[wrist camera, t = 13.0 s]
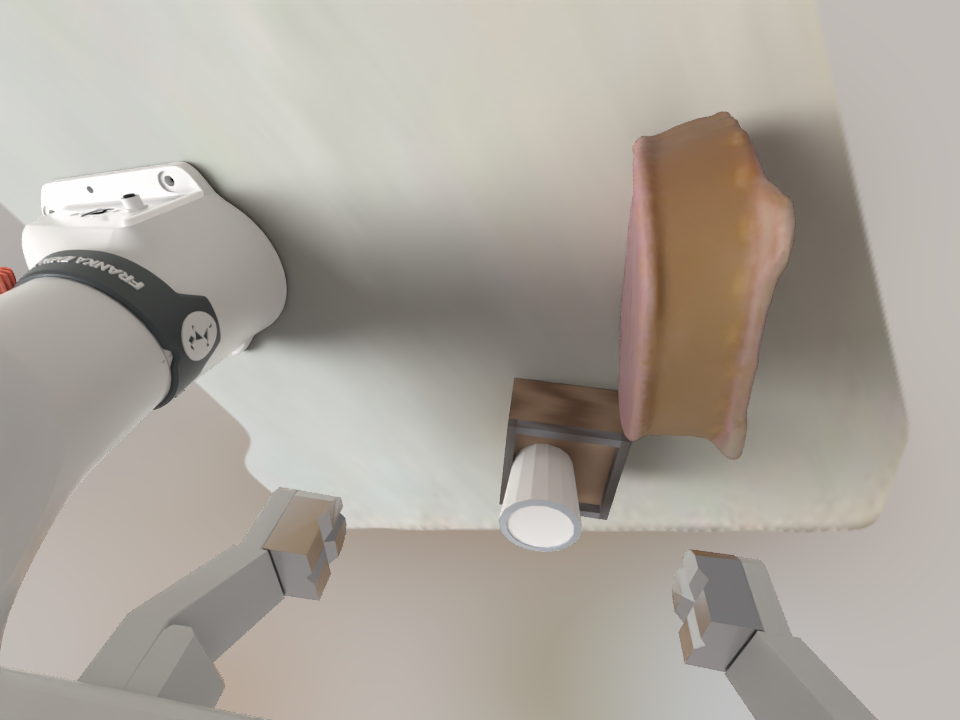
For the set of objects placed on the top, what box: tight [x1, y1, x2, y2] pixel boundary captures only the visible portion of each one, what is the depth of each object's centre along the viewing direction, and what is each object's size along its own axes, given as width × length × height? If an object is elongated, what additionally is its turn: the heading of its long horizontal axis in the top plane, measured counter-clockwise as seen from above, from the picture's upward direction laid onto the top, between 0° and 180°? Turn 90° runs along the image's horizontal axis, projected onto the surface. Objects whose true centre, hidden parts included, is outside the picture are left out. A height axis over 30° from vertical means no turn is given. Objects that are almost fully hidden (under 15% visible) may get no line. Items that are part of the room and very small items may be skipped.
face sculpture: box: [618, 112, 796, 460], centre depth 31 cm, size 20×7×17 cm, turn 9°
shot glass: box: [499, 444, 582, 552], centre depth 42 cm, size 7×7×7 cm
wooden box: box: [500, 378, 631, 520], centre depth 47 cm, size 11×11×7 cm
